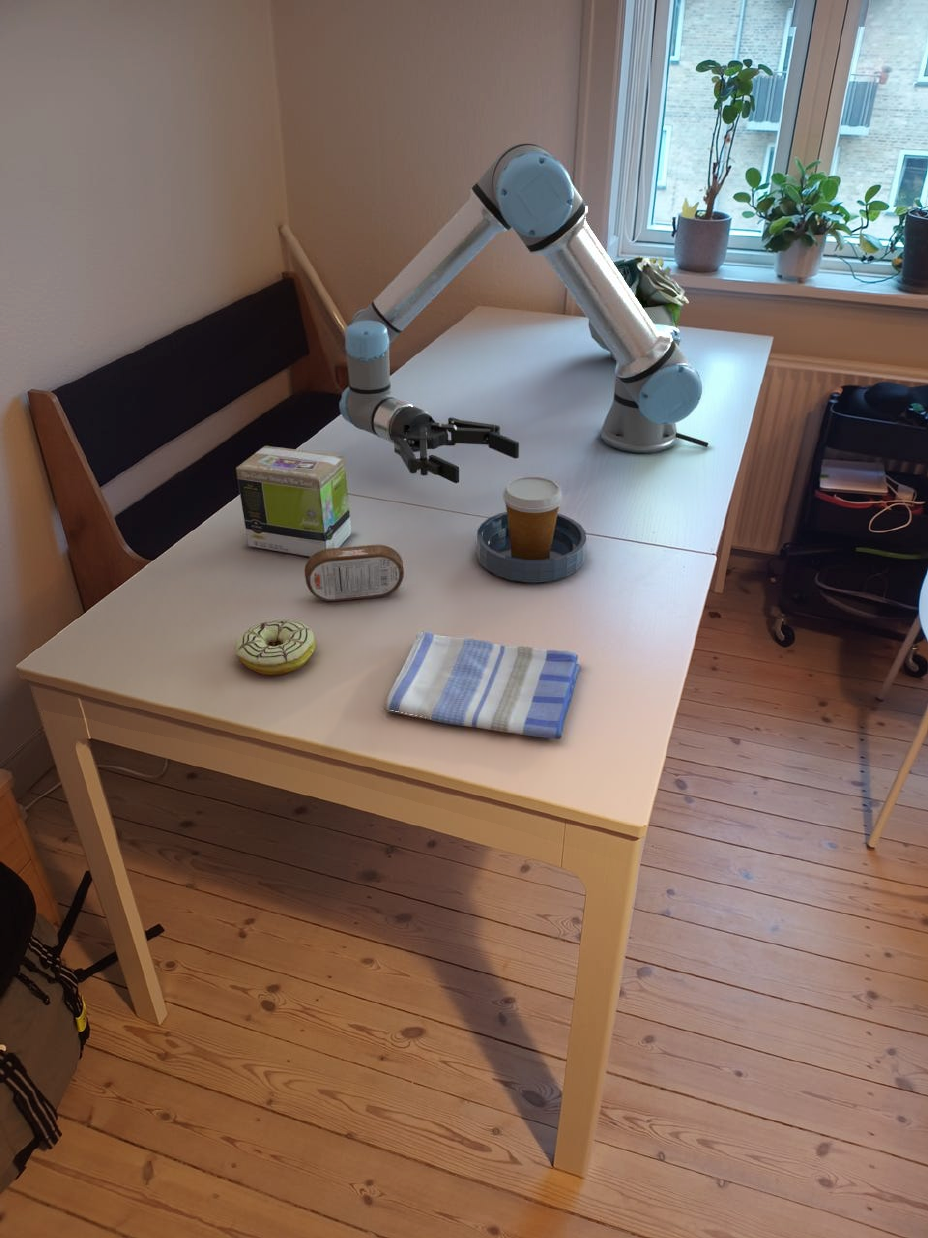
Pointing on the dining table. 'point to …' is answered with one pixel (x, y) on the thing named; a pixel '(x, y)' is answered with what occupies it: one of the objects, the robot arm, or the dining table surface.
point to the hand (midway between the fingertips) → (488, 462)
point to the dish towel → (486, 685)
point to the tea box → (294, 500)
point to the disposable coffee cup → (532, 515)
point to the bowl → (559, 564)
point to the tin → (354, 572)
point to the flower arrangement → (649, 292)
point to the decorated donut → (275, 646)
